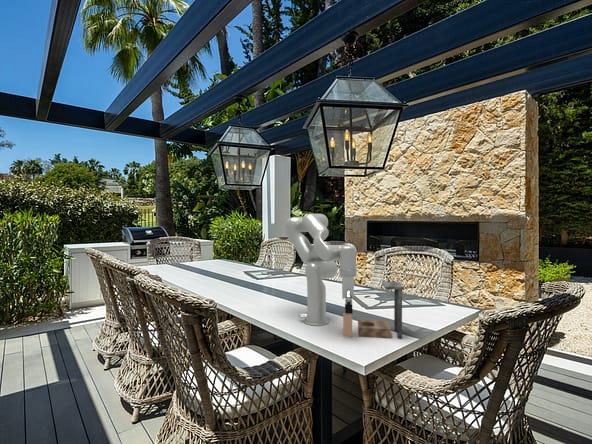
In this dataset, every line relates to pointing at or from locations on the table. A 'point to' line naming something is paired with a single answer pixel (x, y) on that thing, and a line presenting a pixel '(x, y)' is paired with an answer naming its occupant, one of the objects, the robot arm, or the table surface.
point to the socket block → (382, 327)
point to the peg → (347, 325)
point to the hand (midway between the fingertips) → (348, 310)
